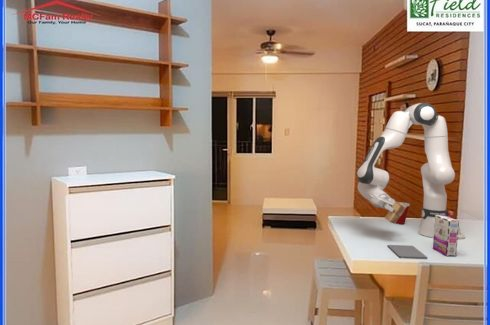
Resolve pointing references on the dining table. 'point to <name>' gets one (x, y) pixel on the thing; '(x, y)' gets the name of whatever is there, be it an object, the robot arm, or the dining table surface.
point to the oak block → (395, 212)
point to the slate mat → (407, 251)
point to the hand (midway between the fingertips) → (397, 212)
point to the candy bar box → (445, 235)
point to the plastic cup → (403, 214)
